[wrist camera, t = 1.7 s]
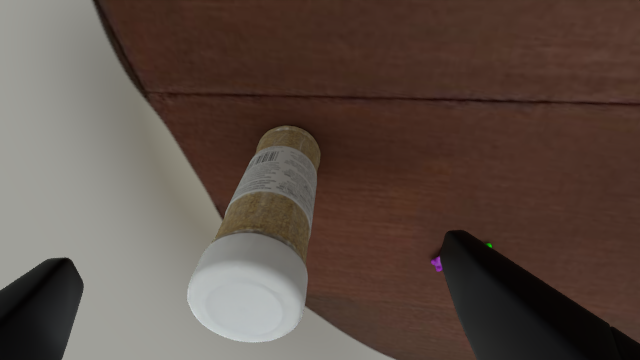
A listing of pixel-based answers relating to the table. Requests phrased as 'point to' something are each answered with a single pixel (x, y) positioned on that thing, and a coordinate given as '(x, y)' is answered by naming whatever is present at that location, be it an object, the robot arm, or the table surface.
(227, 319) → the sprinkles bottle
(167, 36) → the table surface
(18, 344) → the robot arm
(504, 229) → the table surface
